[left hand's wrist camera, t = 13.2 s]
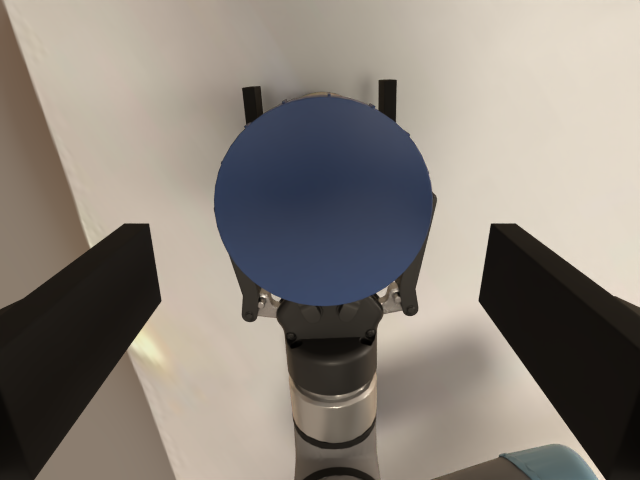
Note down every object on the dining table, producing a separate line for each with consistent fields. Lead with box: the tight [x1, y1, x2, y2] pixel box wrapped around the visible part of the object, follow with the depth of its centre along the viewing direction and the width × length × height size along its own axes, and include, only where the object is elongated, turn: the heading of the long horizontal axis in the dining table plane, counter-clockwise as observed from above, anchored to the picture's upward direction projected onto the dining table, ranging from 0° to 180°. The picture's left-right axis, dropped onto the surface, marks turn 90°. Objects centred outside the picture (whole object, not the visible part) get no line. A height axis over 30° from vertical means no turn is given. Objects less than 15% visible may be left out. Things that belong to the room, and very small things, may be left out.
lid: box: [214, 93, 433, 306], centre depth 18 cm, size 9×9×2 cm
